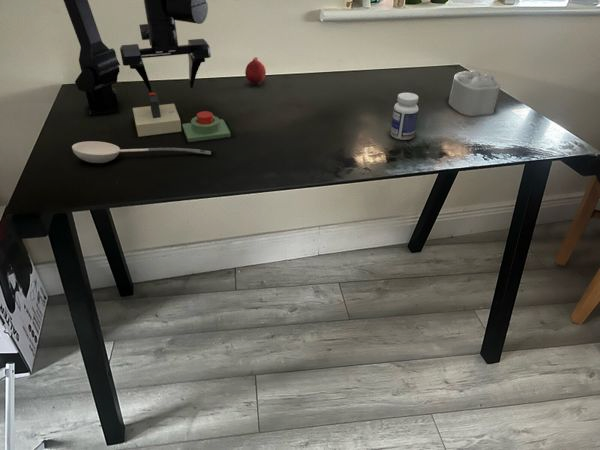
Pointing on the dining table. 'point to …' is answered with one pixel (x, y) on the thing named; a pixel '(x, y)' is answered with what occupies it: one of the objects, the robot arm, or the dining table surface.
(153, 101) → the hob knob
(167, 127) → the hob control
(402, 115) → the pill bottle
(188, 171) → the dining table surface
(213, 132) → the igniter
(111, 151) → the ladle
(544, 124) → the dining table surface
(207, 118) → the button
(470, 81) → the lumpy-topped squat cylinder
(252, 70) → the onion
